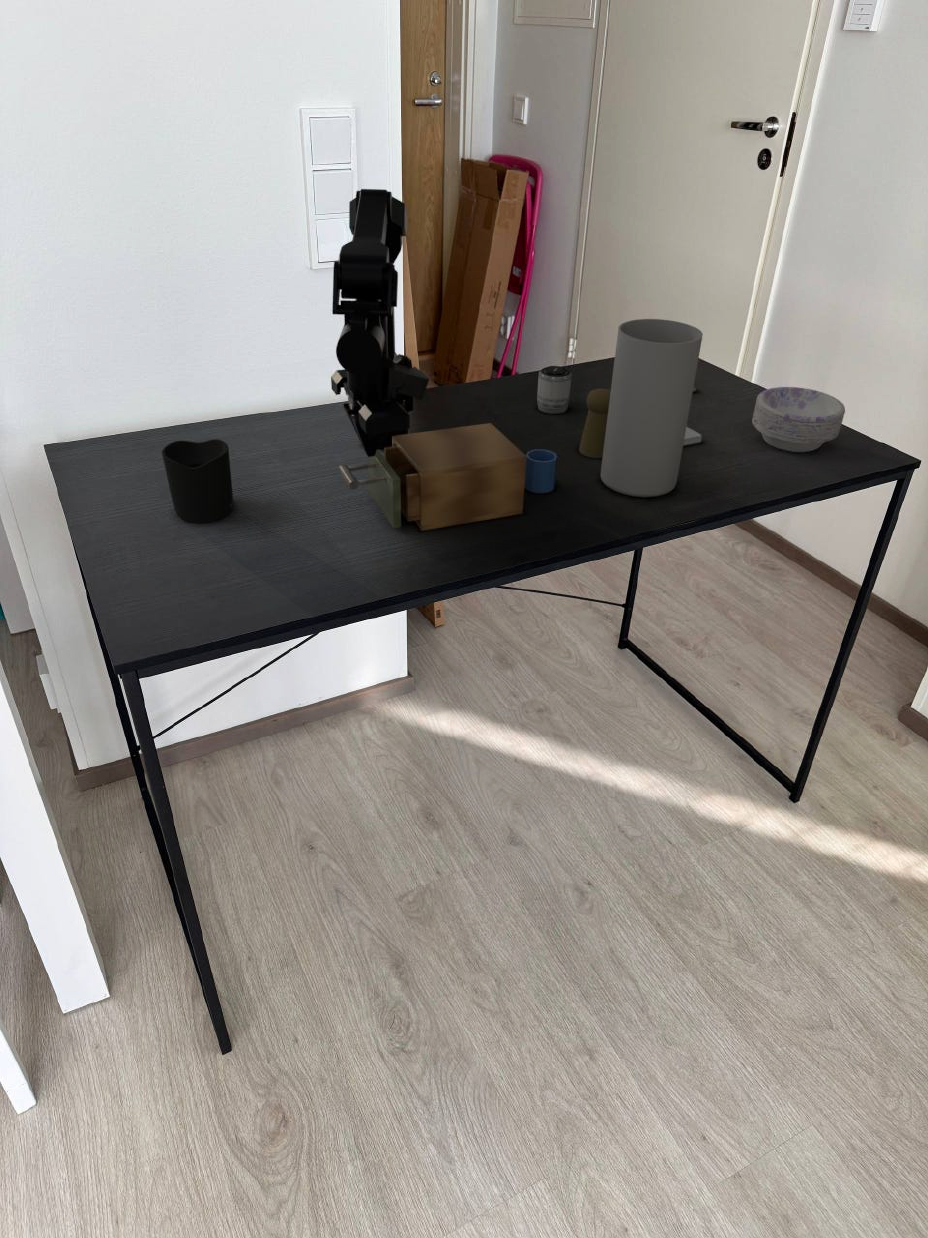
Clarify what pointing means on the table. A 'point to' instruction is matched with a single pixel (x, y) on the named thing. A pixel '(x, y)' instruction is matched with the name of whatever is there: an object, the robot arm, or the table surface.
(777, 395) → the paper bowls
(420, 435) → the cabinet
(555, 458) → the cup
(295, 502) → the table surface
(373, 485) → the drawer
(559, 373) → the camera lens
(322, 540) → the table surface
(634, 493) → the cylinder vase
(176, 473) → the pen holder
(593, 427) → the cork
